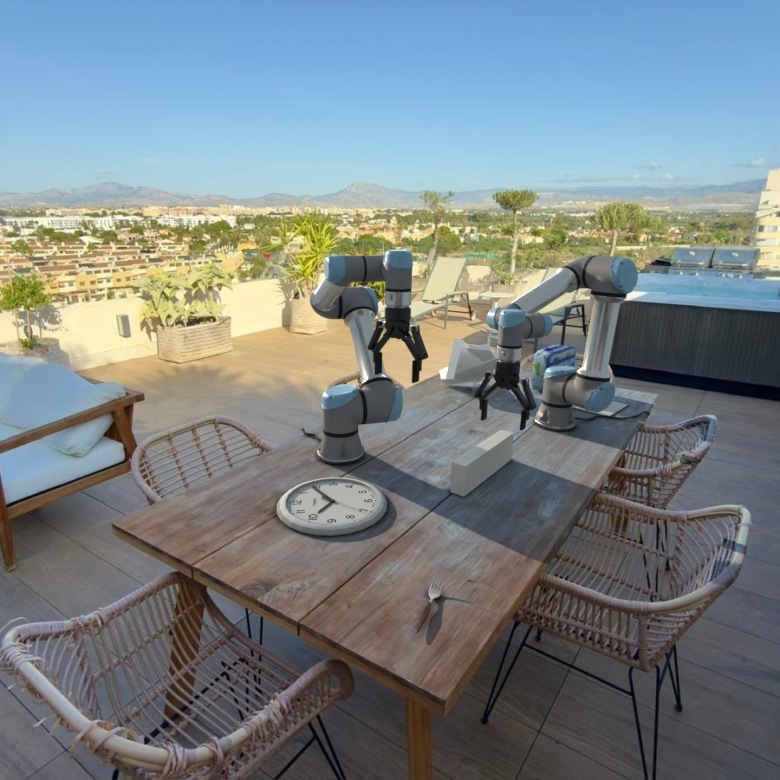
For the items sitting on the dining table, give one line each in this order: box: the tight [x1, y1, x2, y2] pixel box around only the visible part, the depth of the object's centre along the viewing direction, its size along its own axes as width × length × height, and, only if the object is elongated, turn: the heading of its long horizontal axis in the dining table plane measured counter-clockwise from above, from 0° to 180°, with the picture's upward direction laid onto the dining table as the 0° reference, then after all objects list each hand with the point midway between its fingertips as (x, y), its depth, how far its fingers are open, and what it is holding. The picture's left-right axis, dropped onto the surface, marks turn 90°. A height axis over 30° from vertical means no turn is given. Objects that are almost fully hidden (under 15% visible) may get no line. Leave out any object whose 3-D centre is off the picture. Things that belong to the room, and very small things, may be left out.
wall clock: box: [276, 476, 388, 537], centre depth 142 cm, size 30×2×30 cm
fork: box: [416, 574, 445, 635], centre depth 104 cm, size 3×16×2 cm, turn 160°
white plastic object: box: [438, 338, 526, 400], centre depth 245 cm, size 37×45×31 cm
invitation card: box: [573, 400, 629, 416], centre depth 226 cm, size 21×1×15 cm
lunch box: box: [530, 344, 577, 392], centre depth 247 cm, size 26×11×21 cm, turn 134°
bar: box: [449, 429, 515, 498], centre depth 161 cm, size 32×5×10 cm, turn 143°
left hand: (396, 377), depth 155 cm, fingers open, 13 cm apart
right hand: (502, 424), depth 168 cm, fingers open, 13 cm apart
